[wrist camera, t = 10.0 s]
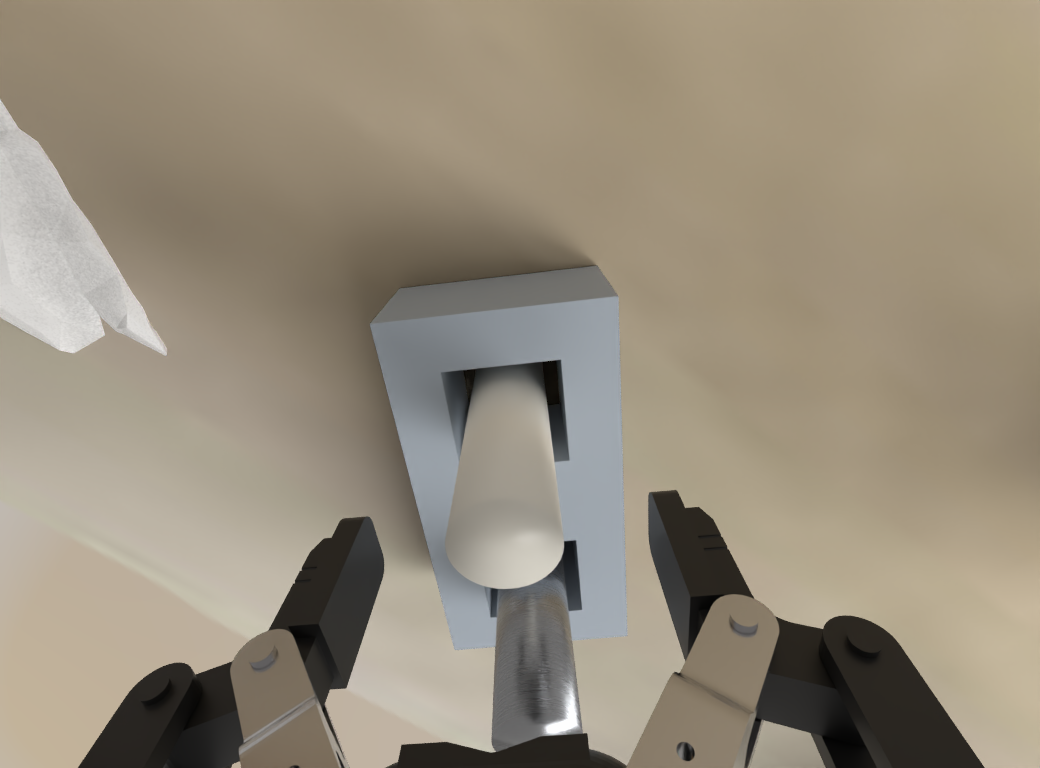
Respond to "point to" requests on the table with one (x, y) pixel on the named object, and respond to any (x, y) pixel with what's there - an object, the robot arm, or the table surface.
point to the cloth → (56, 257)
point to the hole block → (573, 423)
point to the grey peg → (534, 664)
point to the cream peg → (506, 483)
